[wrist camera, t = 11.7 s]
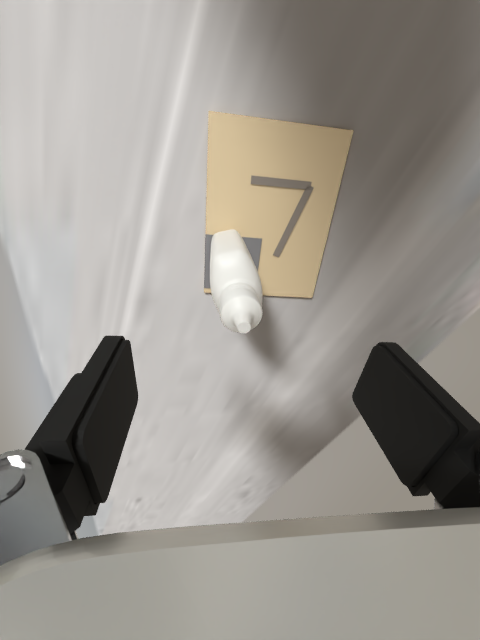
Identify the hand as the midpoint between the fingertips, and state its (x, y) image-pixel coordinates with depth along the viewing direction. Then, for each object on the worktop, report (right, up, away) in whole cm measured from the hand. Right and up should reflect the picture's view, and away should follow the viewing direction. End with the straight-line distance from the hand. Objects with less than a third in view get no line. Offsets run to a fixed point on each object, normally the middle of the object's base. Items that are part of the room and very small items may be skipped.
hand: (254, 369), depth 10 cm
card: (+2, +11, +13) cm, 17 cm away
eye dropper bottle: (-1, +7, +14) cm, 16 cm away
